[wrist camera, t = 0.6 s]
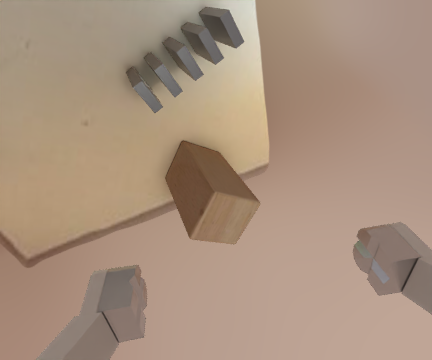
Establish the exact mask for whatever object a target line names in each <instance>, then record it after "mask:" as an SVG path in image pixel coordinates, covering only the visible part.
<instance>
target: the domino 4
mask: <svg viewBox="0 0 432 360" xmlns="http://www.w3.org/2000/svg"><path fill="white" fill-rule="evenodd" d="M181 30H182V32H183V33H184V35H185V36H186V38H187V40H188V41H189V43H190V44H191V46H192V48H193V49H194V51H195V52H196V54H198V55H199V56H201V57H203V58H205V59H207V60H208V61H210V62H212V63H214V64H215V65H216V64H217V63H218V62H220V61H221V60H222V59H223V58H224V57H223V56H222V54H221V52H220V50H219V48H218V47H217V45H216V43H215V41H214V39H213V38H212V36H211V34H210V32H209V30H208V29H207V28H206V27H203V26H200V25H196V24H193V23H190V22H187V23H186V24H184V25H183V26H182V27H181Z"/></svg>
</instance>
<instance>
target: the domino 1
mask: <svg viewBox="0 0 432 360" xmlns="http://www.w3.org/2000/svg"><path fill="white" fill-rule="evenodd" d="M126 73H127V76H128V78H129V80H130V82H131V84H132V86H133V88H134V89H135V91H136V92H137V93H138V94H139V95H140V96H141V98H142V99H143V100H144V101H145V102H146V103H147V105H148V106H149V107H150V108H151V109H152V110H153V111H154V113H156V112H157V111H159V110H160V109H161V108H162V107H163V106H162V105H161V103H160V101H159V100H158V98H157V97H156V95H155V94H154V92H153V91H152V89H151V88H150V87H149V85H148V84H147V83H146V82H145V81H144V79H143V78H142V77H141V76H140V74H139V73H138V72H137V71H136V69H135V68H134V67H132V68H131V69H130V70H128V71H127V72H126Z"/></svg>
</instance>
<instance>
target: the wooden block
mask: <svg viewBox="0 0 432 360" xmlns="http://www.w3.org/2000/svg"><path fill="white" fill-rule="evenodd" d="M166 182H167V184H168V187H169V189H170V192H171V194H172V196H173V199H174V201H175V204H176V206H177V209H178V211H179V213H180V216H181V218H182V221H183V223H184V226H185V228H186V231H187V233H188V236H189V238H190V239H192V240H201V241H209V242H219V243H227V244H236V243H237V241H238V239H239V237H240V236H241V235H242V233H243V231H244V229H245V228H246V226H247V225H248V223H249V222H250V220H251V219H252V217H253V215H254V214H255V212H256V211H257V209H258V207H259V206H260V202H259V200H258V199H257V198H256V197H255V196H254V194H253V193H252V192H251V190H250V189H249V188H248V187H247V186H246V185H245V183H244V182H243V181H242V179H241V178H240V177H239V176H238V174H237V173H236V172H235V171H234V170H233V168H232V167H231V166H230V165H229V163H228V162H227V161H226V160H225V159H224V157H223V156H222V155H221V154H220V153H219V152H216V151H213V150H210V149H207V148H204V147H201V146H197V145H194V144H191V143H188V142H185V141H182V143H181V145H180V147H179V149H178V151H177V154H176V156H175V158H174V160H173V163H172V165H171V167H170V169H169V171H168V174H167V176H166Z"/></svg>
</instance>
